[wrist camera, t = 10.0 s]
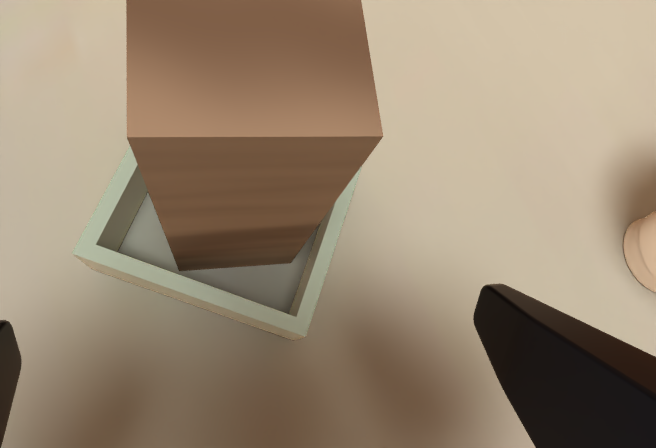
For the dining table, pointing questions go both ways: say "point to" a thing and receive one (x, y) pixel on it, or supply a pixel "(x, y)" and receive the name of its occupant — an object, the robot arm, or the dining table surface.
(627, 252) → the cup with straw
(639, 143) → the dining table surface
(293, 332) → the green holder
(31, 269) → the dining table surface
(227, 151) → the walnut block
